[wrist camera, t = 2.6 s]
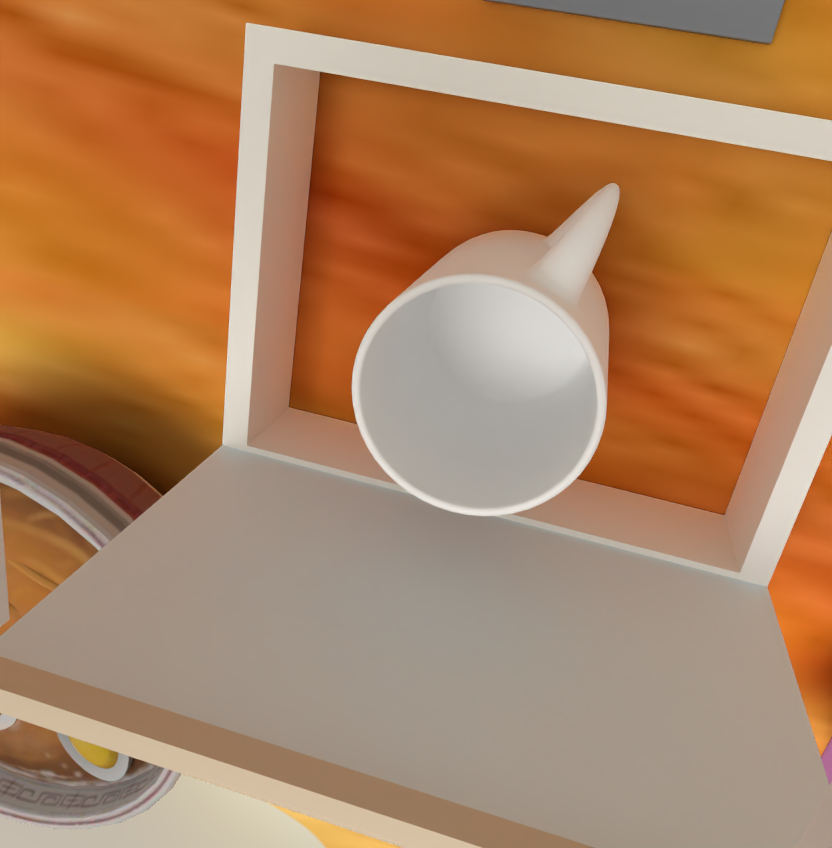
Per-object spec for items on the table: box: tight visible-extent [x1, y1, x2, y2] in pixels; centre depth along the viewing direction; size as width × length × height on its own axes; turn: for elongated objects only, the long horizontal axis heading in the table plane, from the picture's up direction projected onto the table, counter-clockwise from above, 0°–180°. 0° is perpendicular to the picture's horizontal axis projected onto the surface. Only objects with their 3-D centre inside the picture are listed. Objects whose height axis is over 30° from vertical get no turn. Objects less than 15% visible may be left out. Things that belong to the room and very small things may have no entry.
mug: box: [352, 183, 620, 516], centre depth 30 cm, size 9×12×11 cm
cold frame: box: [0, 23, 832, 848], centre depth 25 cm, size 18×24×21 cm
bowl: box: [0, 425, 181, 829], centre depth 42 cm, size 23×23×10 cm
